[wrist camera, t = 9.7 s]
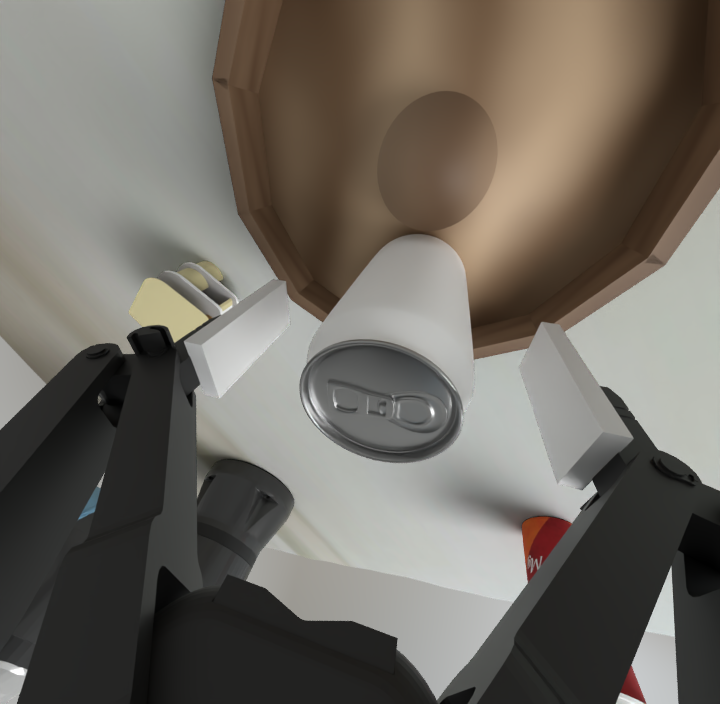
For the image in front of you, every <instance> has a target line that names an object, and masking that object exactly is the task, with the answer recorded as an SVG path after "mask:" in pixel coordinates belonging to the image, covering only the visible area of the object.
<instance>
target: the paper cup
mask: <svg viewBox="0 0 720 704" xmlns="http://www.w3.org/2000/svg"><path fill="white" fill-rule="evenodd" d="M570 526H571V523H570V522H568V521H565V520H562V519H559V518H555V517H546V516H541V517H533V518H530V519H527V520H525V521H524V522H523V524H522V535H523V545H524V554H525V563H526V571H527V580H528V583H529V581H530V580H531V579H532V577H533V576H534V574H535V573H536V572H537V570H538V569H539V568H540V566H541V565H542V564H543V562H544V561H545V560H546V558H547V557H548V556H549V554H550V553H551V551H552V550H553V549H554V547H555V546H556V545H557V543H558V542H559V541H560V539H561V538H562V537H563V535H564V534H565V533H566V531H567V530H568V529H569V527H570ZM616 704H646V702H645V699H644V697H643V694H642V691H641V689H640V686H639V684H638V681H637V679H636V676H635V674H634V671H633V669H632V666H631V667H630V669H629V672H628V674H627V677H626V679H625V682H624V684H623V687H622V689H621V692H620V694H619V697H618V699H617V702H616Z"/></svg>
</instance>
